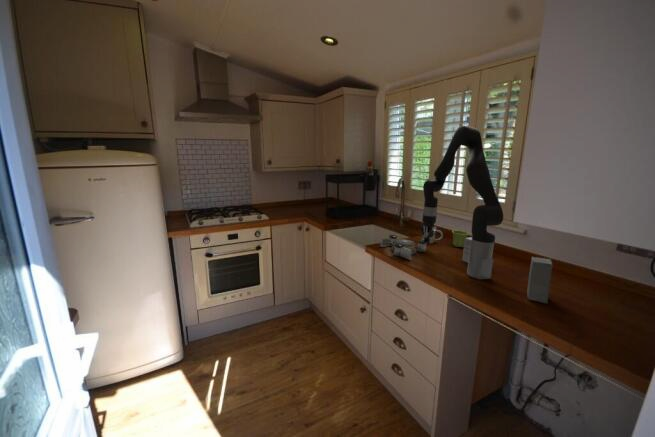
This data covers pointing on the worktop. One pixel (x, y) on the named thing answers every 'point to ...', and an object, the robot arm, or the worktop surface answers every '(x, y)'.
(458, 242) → the plant pot
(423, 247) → the footscrew right
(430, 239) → the mug
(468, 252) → the supplement box
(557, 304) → the worktop surface
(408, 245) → the level instrument
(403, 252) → the footscrew left
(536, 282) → the skincare box
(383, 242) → the footscrew far
